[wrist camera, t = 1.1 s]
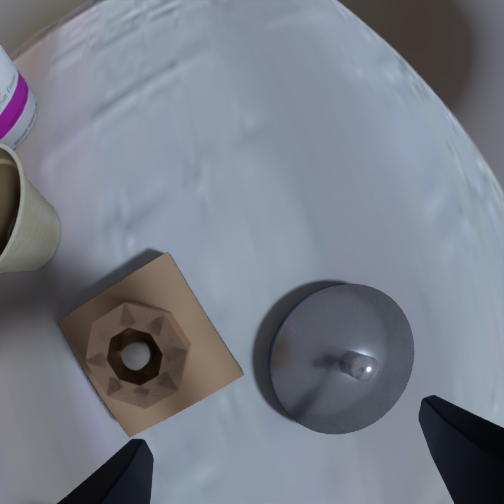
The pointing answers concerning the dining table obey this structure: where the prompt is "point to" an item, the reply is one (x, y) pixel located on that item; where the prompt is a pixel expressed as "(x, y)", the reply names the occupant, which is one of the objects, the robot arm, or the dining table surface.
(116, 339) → the octagonal wooden ring
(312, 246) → the dining table surface
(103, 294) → the stand
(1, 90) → the supplement can
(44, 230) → the flower pot
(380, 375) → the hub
